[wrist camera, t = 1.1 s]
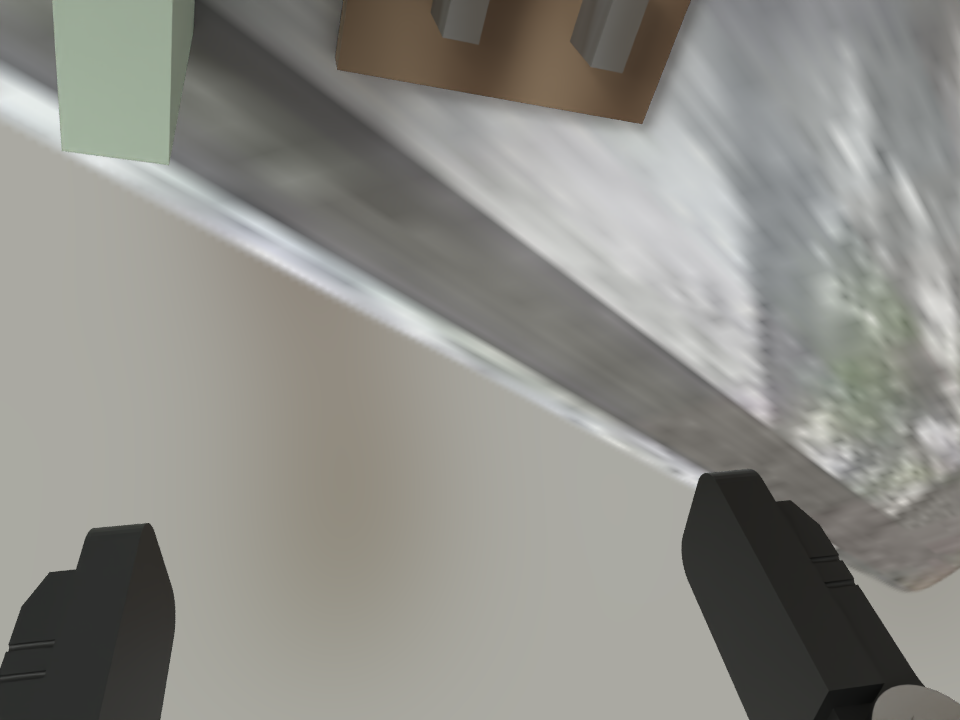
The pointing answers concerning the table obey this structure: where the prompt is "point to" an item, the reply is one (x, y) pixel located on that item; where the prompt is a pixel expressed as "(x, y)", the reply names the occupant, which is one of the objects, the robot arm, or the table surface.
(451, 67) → the wooden l-shaped stand
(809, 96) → the table surface
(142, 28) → the door
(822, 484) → the table surface
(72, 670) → the robot arm
